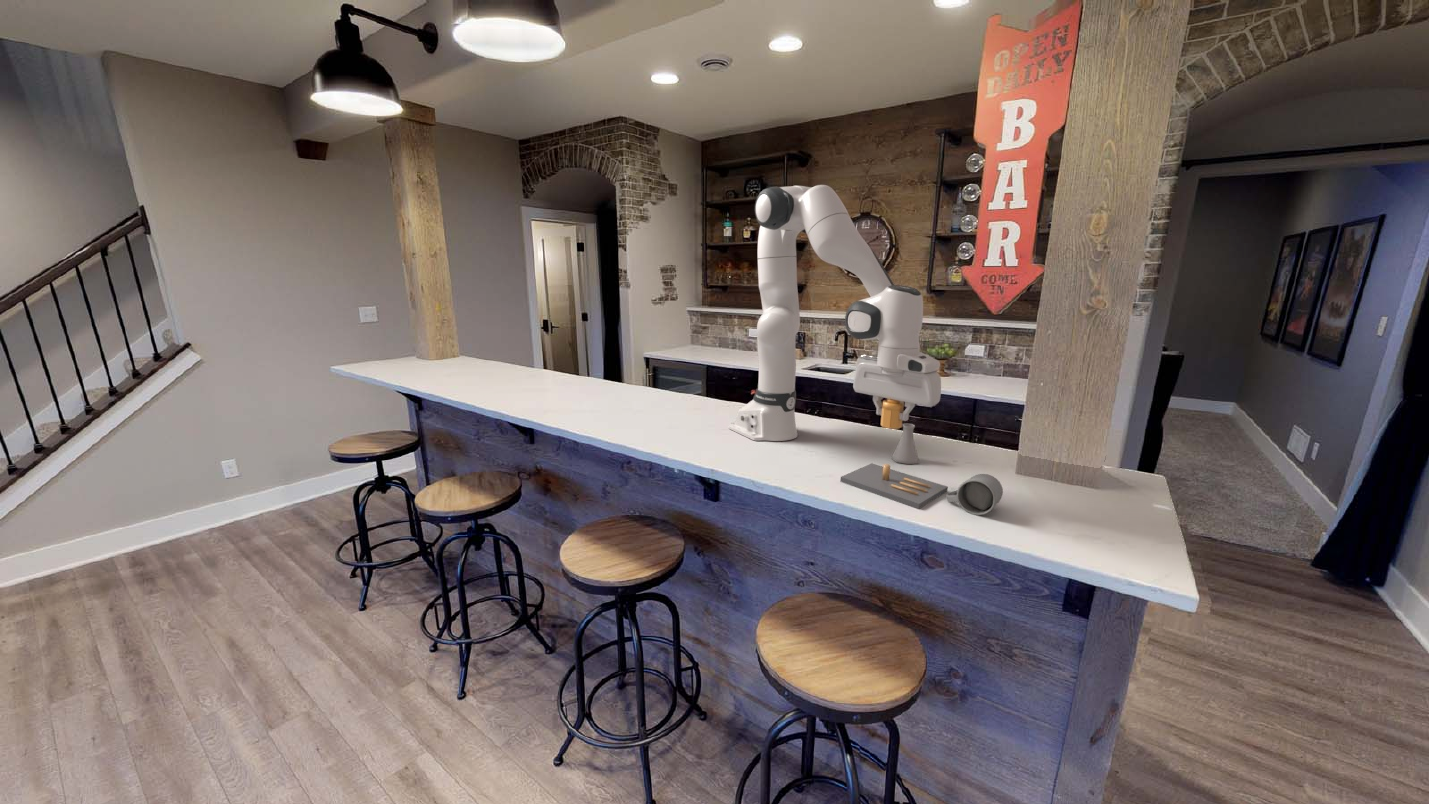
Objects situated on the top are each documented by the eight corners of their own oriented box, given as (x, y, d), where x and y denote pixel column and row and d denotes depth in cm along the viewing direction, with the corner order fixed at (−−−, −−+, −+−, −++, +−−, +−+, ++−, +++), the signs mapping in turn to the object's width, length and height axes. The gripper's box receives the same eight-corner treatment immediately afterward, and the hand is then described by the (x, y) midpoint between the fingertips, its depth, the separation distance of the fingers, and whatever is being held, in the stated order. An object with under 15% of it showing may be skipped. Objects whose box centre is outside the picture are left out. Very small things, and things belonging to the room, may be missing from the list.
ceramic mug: (1002, 507, 117) (1007, 474, 115) (992, 520, 110) (997, 485, 109) (952, 494, 123) (955, 463, 121) (940, 505, 117) (943, 473, 115)
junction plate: (840, 481, 129) (841, 463, 128) (871, 467, 138) (872, 450, 137) (918, 508, 115) (921, 488, 114) (947, 491, 124) (949, 472, 123)
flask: (915, 456, 147) (919, 421, 145) (922, 465, 140) (926, 429, 138) (888, 455, 148) (891, 420, 146) (894, 464, 141) (898, 428, 139)
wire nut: (877, 425, 125) (879, 398, 123) (887, 421, 128) (889, 395, 126) (895, 430, 121) (897, 402, 120) (905, 426, 124) (907, 398, 123)
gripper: (850, 354, 126) (846, 410, 129) (934, 366, 111) (927, 429, 115) (864, 351, 130) (860, 406, 133) (947, 363, 116) (940, 424, 119)
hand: (891, 417), depth 124 cm, fingers closed on wire nut, 4 cm apart
